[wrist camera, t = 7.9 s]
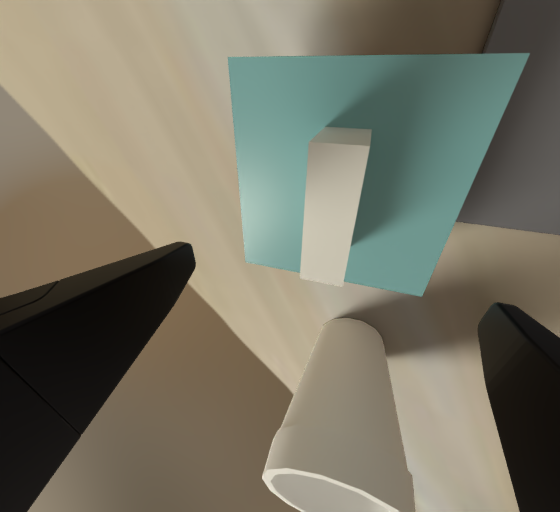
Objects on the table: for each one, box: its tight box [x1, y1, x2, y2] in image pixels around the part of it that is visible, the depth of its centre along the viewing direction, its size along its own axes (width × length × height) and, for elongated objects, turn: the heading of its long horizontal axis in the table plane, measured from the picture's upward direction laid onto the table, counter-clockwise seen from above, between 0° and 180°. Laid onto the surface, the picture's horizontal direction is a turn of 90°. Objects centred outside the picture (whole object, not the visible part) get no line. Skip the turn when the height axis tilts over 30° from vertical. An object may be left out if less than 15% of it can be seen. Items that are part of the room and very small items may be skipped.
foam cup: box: [262, 318, 415, 512], centre depth 21 cm, size 10×9×13 cm
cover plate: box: [228, 53, 530, 297], centre depth 12 cm, size 11×11×4 cm
